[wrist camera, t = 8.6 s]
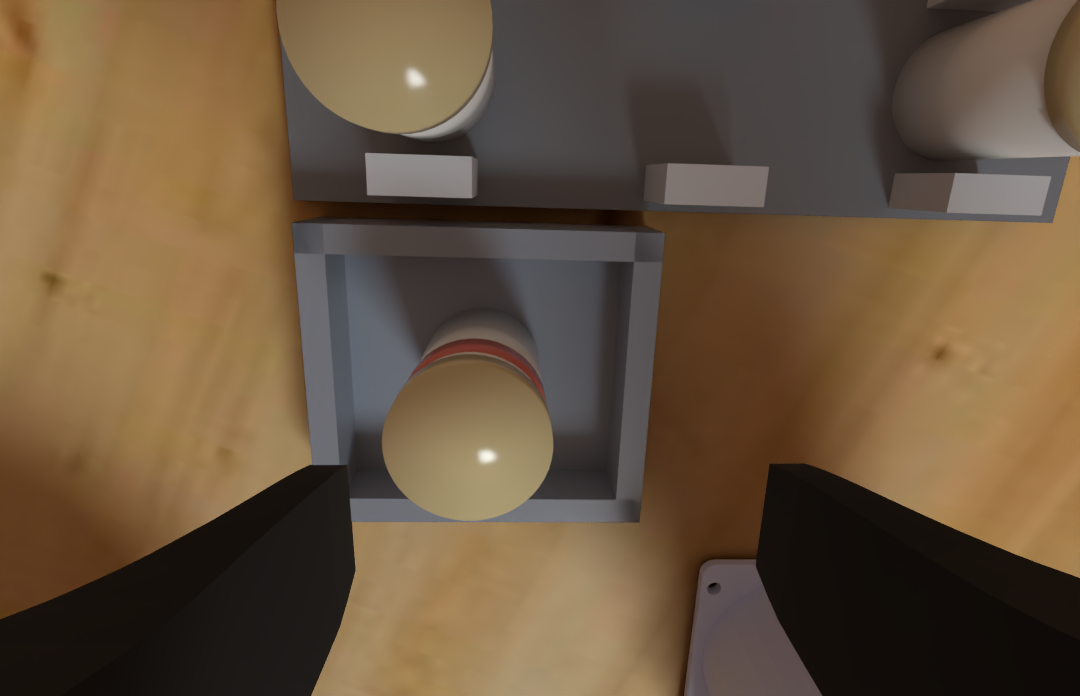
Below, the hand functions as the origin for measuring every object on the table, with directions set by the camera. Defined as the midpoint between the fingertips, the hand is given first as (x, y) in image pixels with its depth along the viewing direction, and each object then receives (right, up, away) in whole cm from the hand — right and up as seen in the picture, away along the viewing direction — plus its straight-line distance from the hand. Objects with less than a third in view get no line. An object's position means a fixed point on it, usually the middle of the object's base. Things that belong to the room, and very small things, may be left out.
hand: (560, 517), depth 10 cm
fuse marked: (-2, +2, +9) cm, 9 cm away
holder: (+4, +11, +7) cm, 13 cm away
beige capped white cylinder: (+12, +10, +7) cm, 17 cm away
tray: (-2, +2, +9) cm, 10 cm away
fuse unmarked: (-3, +10, +6) cm, 13 cm away
